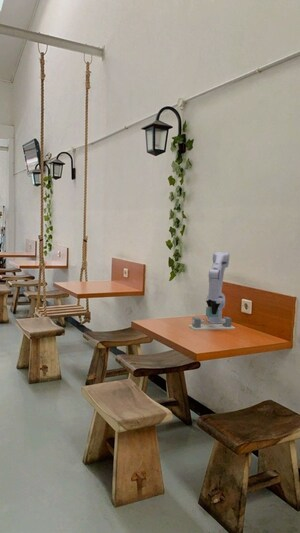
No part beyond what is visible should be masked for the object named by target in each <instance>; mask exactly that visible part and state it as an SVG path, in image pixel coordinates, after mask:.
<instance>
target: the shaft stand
mask: <svg viewBox="0 0 300 533" xmlns="http://www.w3.org/2000/svg"><path fill="white" fill-rule="evenodd" d="M232 319H233V318H231V317H229V316H222V319H220V323H223V324H212V323H209V324H207V323H206V324H204V322H205V320H204V319H203V318H199V317H197V316H196V317H192V319H191V320H192V324H188V327H189V328H190V329H192V330H193V331H211V330H217V331H218V330H235V329H236V327H235V326H233V325H232V323H233V322H232Z"/></svg>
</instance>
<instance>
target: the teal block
mask: <svg viewBox="0 0 300 533" xmlns="http://www.w3.org/2000/svg"><path fill="white" fill-rule="evenodd" d="M218 313H219V308H218V309H217V313H216V315H213V314H212V307H208V306H206V308H205V316H206V318H208V317H218Z"/></svg>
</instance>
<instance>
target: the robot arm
mask: <svg viewBox="0 0 300 533" xmlns="http://www.w3.org/2000/svg"><path fill="white" fill-rule="evenodd" d="M230 258H231V257H230V253H229V251H228V252H226V251H225V252H223V251H221V252H220V251H213V252H212V262H213V263H212V266H211V269H209V271H208V295H206V298H205V299H206V300H205V302H206V305H207V307H212V314H213V315H216V313H217V309H218V308H219V313H218V317H207V319H206V321H207V322H209V324H223V323H220V319H223V309H224V308H225V306H226V296H225V294H224V293H223V292H222V291H223V282H224V275H225V274H224V273H225V270H226V268H228V267H229V264H230Z"/></svg>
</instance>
